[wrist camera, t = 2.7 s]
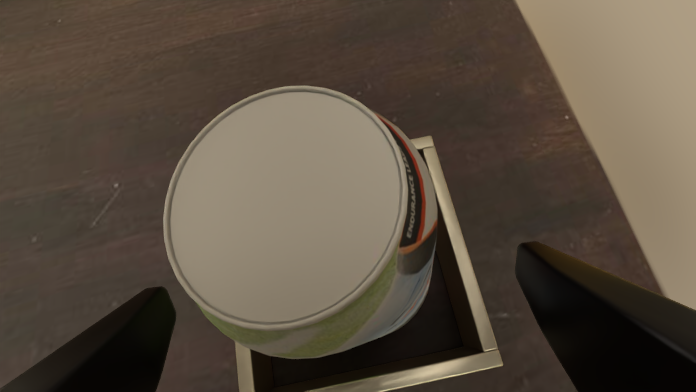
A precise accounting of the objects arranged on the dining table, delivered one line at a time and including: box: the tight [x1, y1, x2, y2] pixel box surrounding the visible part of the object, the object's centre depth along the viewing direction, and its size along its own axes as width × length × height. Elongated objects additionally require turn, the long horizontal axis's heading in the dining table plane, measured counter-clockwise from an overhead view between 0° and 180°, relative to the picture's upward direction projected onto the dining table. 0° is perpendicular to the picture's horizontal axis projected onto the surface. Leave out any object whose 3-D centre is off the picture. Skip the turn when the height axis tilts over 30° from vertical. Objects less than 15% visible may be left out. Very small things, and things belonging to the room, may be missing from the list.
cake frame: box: [235, 136, 503, 392], centre depth 16 cm, size 10×10×3 cm
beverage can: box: [163, 86, 438, 359], centre depth 12 cm, size 6×7×12 cm
